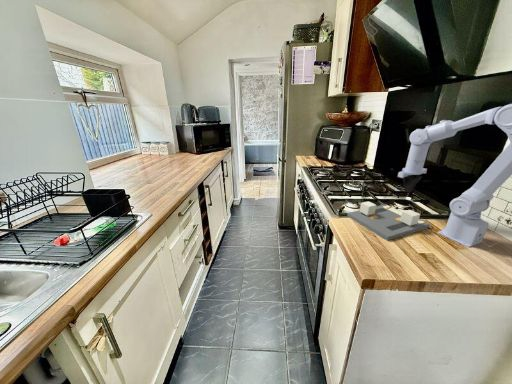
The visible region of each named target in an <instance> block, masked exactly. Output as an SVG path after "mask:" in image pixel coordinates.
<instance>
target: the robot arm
mask: <svg viewBox="0 0 512 384" xmlns="http://www.w3.org/2000/svg"><path fill="white" fill-rule="evenodd" d="M486 124H487V125H496V126H497V127H498V128H499V129H501V131H503V132H504V133H505V134H506V135H507V137H508V139H509V143H508V145H507V146H506V147H505V148H504V149H503V151H502V152H501V153H500V154H499V155H498V156H497V157H496V158H495V160H494V161H493V162H492V163H491V164H490V165H489V167H488V168H486V170H485V171H484V173H482V175H481V176H480V177H478V179H477V180H476V182H475V183H474V184H473V185H472V186H471V187H470V188H468V189H467V190H465V191H464V192H462V193H461V195H460V196H458V197H456V198H453V199H452V200H451V201H450V202H449V210H450V214H449V217H448V220H447V223H446V225H445V227H444V229H440V230H439V231H437V234H439V235H441V236H444V237H445V238H447V239H450V240H452V241H454V242H456V243H459V244H461V245H463V246H465V247H466V248H470V247H473V246H475V245H479V244H481V243H483V240H484V238H485V235H486V232H487V230H488V228H489V226H490V225H489V222H488V221H485V220H484V219H482V218H481V217H482V212H485V211H487V210H488V209H489V207H490V203H491V201H492V199H494V193H496V192H497V190H498V189H500V187H501V186H503V184H504V183H505V182H506V181H507V180H508V179H509V178H510V177H511V176H512V103H509V104H506V105H504V106H498V107H494V108H490V109H487V110H484V111H482V112H479V113H475V114H473V115H470V116H468V117H465V118H462V119H459V120H455V121H453V120H450V119H449V120H446V119H443V120H440V121H439V122H438V123H436V124H433V125H427V126H425V128H416V129H415V130H414V131H412V132H411V133H410V135H409V142H410V148H409V152H408V156H407V160H406V164H405V167H403V168H402V170H401V171H398V173H397V178H401V179H402V181H403V189H404V192H406V193H412V191H413V190H414V188H415V186H416V185H417V183H419V181H420V180H421V179H423V176H422V174H427V170H428V168H424V165H425V162H426V159H427V154H428V151H429V149H430V146H431V144H432V143H433V142H437V141H441V140H444V139H446V138H447V139H448V138H451V137H454V136H455V135H456V134H457V132H460V131H463V130H467V129H471V128H475V127H477V126H478V127H479V126H481V125H482V126H483V125H486Z"/></svg>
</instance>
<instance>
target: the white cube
mask: <svg viewBox="0 0 512 384" xmlns="http://www.w3.org/2000/svg"><path fill="white" fill-rule="evenodd" d="M420 216H421V213H419V212H416V211H414V210H411V209H408V210H402V215H401V219H400V221H401V222H403V223H405V224H407V225H410V226H411V225H414V224H417V223H418V220H419V219H420Z"/></svg>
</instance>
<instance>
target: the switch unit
mask: <svg viewBox="0 0 512 384" xmlns="http://www.w3.org/2000/svg"><path fill="white" fill-rule="evenodd" d="M402 212H403V210H400V209H397V208H395V207H393V206H390V205H388V204H380V205H376V210H375V214H372V215H368V216H367V215H365V214H363V213H362V212H360V209H359V210H356V211H350V212H347V214H346V216H347V217H348V218H350V219H351V220H353V221H354V222H355V223H357V224H360V225H361V226H362V227H364V228H366V229H367V230H369V231H371V232H372V233H374V234H376V235H377V236H379V237H380V238H382V239H384V240H385V241H390V240H393V239H397V238H399V237H402V236H406V235H410V234H412V233H416V232H418V231H422V230H425V229H428V228H430V225H431V224H430V223H429V222H426V221H425V220H422V219H420V218H419V220H418V223H417V224H414V225H411V226H410V225H407V224H405V223H403V222H401V221H400V219H401V215H402Z"/></svg>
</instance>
